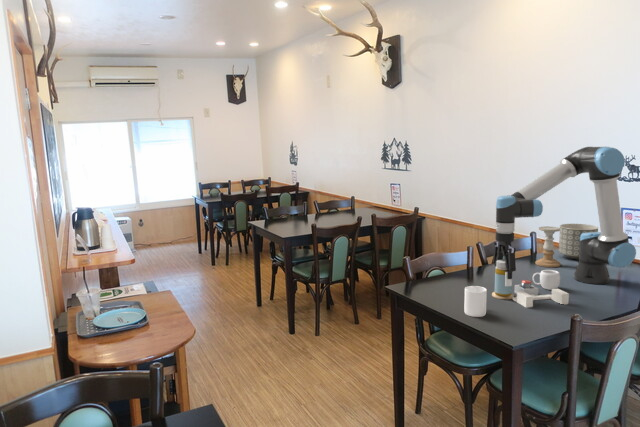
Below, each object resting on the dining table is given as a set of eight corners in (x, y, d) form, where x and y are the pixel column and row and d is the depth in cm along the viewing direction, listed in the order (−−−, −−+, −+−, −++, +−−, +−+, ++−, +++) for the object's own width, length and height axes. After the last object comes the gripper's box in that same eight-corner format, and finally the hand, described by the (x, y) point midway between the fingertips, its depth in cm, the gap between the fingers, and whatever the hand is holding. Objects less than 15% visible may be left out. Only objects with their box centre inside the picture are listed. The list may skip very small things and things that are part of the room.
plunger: (527, 289, 218) (528, 279, 218) (532, 292, 215) (533, 282, 214) (519, 290, 218) (519, 280, 217) (524, 292, 214) (524, 282, 213)
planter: (564, 262, 269) (566, 229, 266) (554, 253, 287) (555, 223, 285) (601, 262, 266) (604, 229, 263) (588, 254, 284) (590, 223, 282)
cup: (460, 314, 195) (461, 289, 193) (473, 306, 203) (474, 282, 202) (480, 318, 189) (481, 293, 188) (493, 310, 198) (493, 286, 196)
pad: (506, 292, 220) (507, 290, 220) (517, 298, 211) (518, 296, 211) (488, 293, 219) (488, 292, 218) (498, 300, 210) (498, 298, 210)
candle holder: (564, 267, 258) (566, 229, 255) (541, 267, 258) (542, 230, 255) (554, 261, 270) (555, 225, 267) (531, 262, 270) (533, 226, 267)
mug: (562, 287, 224) (563, 271, 223) (556, 292, 218) (557, 275, 217) (535, 283, 232) (536, 267, 231) (528, 287, 226) (529, 270, 225)
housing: (541, 290, 221) (541, 280, 221) (568, 304, 203) (568, 293, 202) (501, 293, 218) (502, 283, 218) (525, 307, 200) (526, 297, 199)
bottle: (512, 297, 211) (514, 263, 208) (495, 296, 212) (496, 263, 210) (510, 292, 217) (511, 259, 215) (493, 291, 219) (494, 259, 217)
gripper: (485, 228, 220) (484, 277, 223) (509, 236, 200) (507, 290, 203) (500, 227, 221) (499, 276, 224) (526, 235, 201) (524, 289, 205)
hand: (503, 283), depth 214 cm, fingers open, 7 cm apart
